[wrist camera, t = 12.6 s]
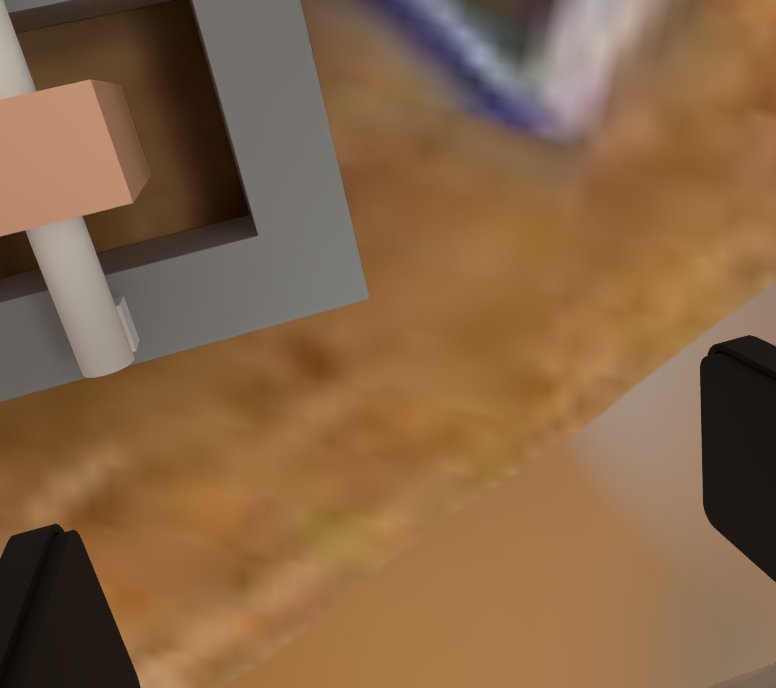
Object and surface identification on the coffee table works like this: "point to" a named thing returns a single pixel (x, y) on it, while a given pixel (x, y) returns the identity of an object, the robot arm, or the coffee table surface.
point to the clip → (67, 154)
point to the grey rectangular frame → (201, 245)
